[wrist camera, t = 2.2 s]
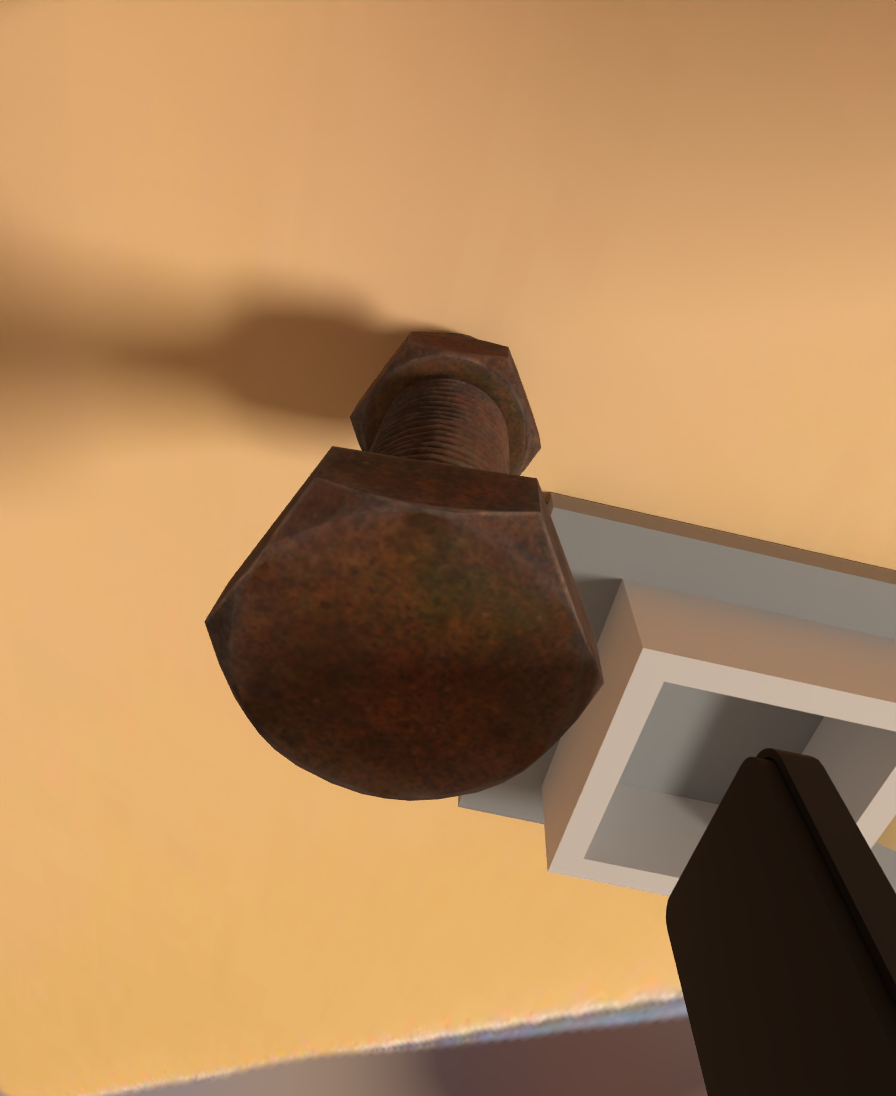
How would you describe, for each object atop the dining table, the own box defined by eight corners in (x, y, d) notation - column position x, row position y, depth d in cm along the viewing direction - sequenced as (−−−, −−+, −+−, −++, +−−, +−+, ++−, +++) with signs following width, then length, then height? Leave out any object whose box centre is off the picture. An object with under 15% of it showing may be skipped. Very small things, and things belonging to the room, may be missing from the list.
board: (1100, 617, 26) (1294, 765, 20) (901, 875, 33) (999, 1049, 26) (550, 492, 25) (569, 606, 19) (459, 784, 32) (450, 942, 25)
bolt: (449, 250, 22) (377, 398, 8) (577, 359, 23) (687, 636, 10) (338, 399, 24) (145, 701, 11) (460, 491, 25) (419, 861, 12)
